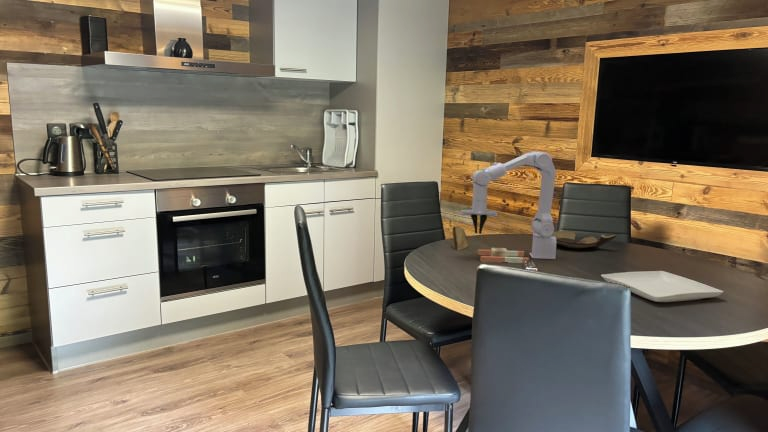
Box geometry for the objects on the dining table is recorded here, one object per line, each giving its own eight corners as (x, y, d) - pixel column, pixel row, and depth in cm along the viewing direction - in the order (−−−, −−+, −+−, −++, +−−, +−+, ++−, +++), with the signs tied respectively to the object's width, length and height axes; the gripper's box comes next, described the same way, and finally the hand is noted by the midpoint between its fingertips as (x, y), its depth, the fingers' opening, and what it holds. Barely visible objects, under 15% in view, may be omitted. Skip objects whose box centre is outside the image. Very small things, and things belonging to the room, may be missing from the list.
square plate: (724, 301, 181) (726, 290, 181) (655, 308, 174) (656, 296, 173) (661, 279, 207) (662, 268, 206) (598, 283, 199) (599, 273, 198)
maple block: (505, 257, 234) (506, 248, 233) (506, 261, 228) (507, 251, 227) (490, 257, 234) (491, 247, 234) (491, 260, 229) (492, 250, 228)
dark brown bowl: (561, 239, 273) (562, 223, 272) (620, 250, 251) (621, 233, 249) (533, 244, 259) (534, 228, 258) (593, 257, 236) (595, 239, 235)
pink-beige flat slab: (523, 255, 237) (523, 251, 236) (528, 263, 224) (529, 258, 224) (477, 254, 238) (478, 249, 238) (480, 261, 225) (480, 256, 225)
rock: (464, 238, 258) (445, 237, 254) (473, 226, 252) (454, 224, 248) (472, 257, 251) (453, 255, 246) (481, 244, 245) (461, 243, 241)
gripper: (462, 201, 224) (460, 234, 227) (498, 202, 223) (497, 235, 226) (461, 198, 231) (459, 230, 234) (496, 199, 230) (495, 232, 233)
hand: (478, 233), depth 230 cm, fingers closed
